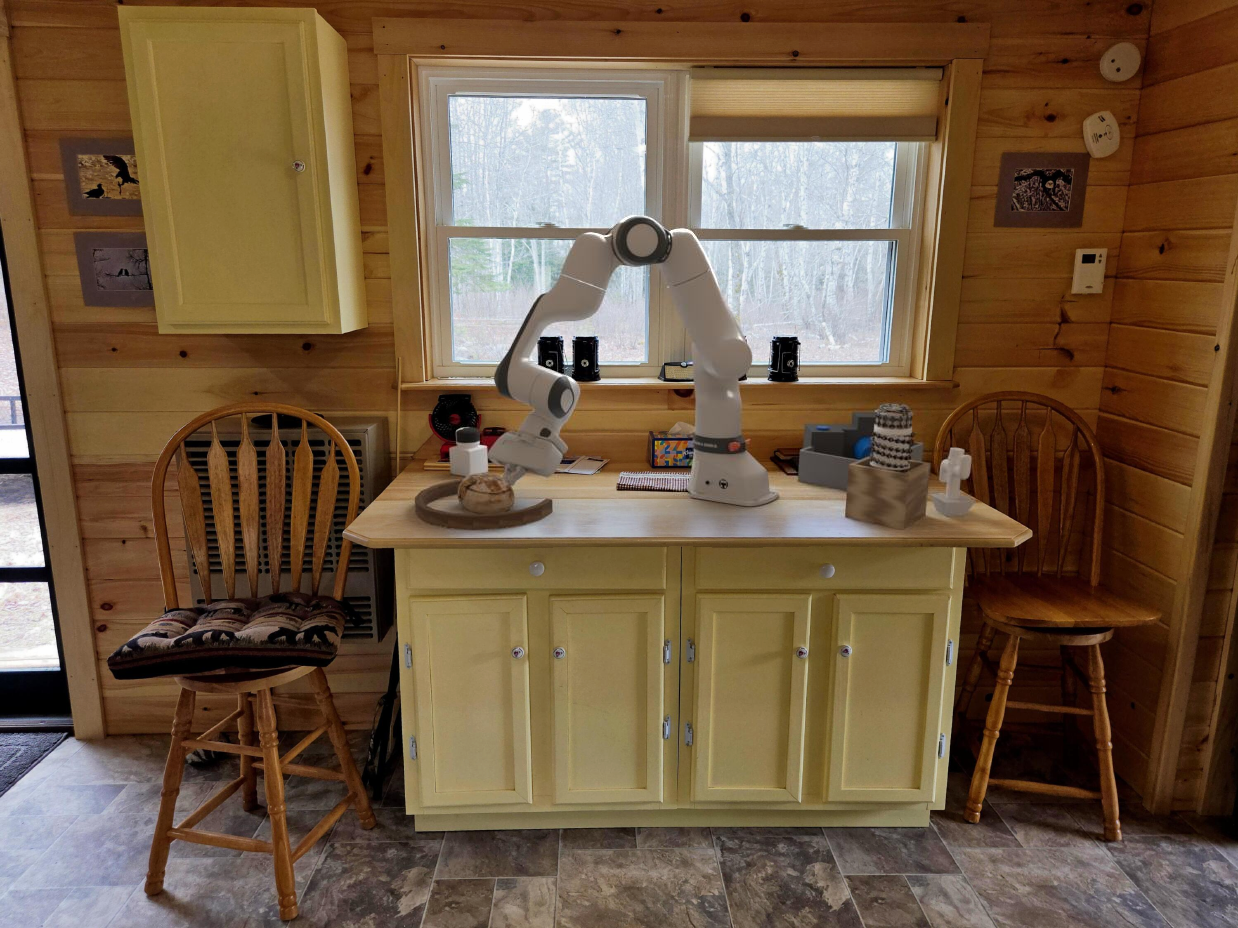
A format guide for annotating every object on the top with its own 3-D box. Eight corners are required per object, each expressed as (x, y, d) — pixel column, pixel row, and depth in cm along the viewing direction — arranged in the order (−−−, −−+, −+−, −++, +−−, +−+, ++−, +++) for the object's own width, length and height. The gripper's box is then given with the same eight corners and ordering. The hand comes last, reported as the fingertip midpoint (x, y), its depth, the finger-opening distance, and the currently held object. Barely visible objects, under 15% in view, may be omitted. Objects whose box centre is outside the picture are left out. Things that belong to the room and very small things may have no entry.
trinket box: (476, 496, 196) (475, 465, 194) (530, 505, 190) (529, 472, 188) (441, 512, 184) (439, 478, 182) (497, 521, 178) (496, 486, 176)
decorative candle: (902, 525, 176) (913, 410, 170) (859, 518, 181) (868, 406, 175) (910, 513, 184) (921, 404, 178) (868, 507, 189) (877, 400, 182)
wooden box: (925, 515, 183) (930, 463, 180) (901, 529, 174) (907, 474, 171) (870, 503, 191) (874, 453, 188) (844, 516, 182) (848, 464, 179)
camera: (812, 483, 210) (816, 422, 206) (802, 467, 226) (805, 411, 222) (911, 485, 209) (917, 424, 205) (894, 469, 224) (899, 412, 220)
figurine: (954, 506, 190) (961, 443, 186) (976, 518, 181) (984, 452, 177) (924, 507, 189) (931, 443, 185) (945, 520, 180) (953, 453, 176)
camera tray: (922, 472, 219) (925, 443, 217) (874, 496, 197) (876, 464, 195) (848, 459, 233) (851, 431, 231) (796, 480, 211) (798, 450, 209)
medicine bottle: (488, 471, 218) (487, 427, 215) (470, 477, 212) (468, 432, 209) (468, 468, 222) (466, 424, 219) (449, 473, 216) (447, 429, 213)
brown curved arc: (558, 513, 183) (558, 500, 183) (475, 540, 166) (475, 526, 165) (469, 488, 203) (469, 476, 202) (387, 509, 186) (386, 496, 185)
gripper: (500, 422, 200) (470, 468, 195) (559, 434, 187) (528, 484, 182) (514, 436, 205) (485, 482, 200) (573, 449, 192) (543, 498, 187)
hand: (506, 483), depth 191 cm, fingers closed
